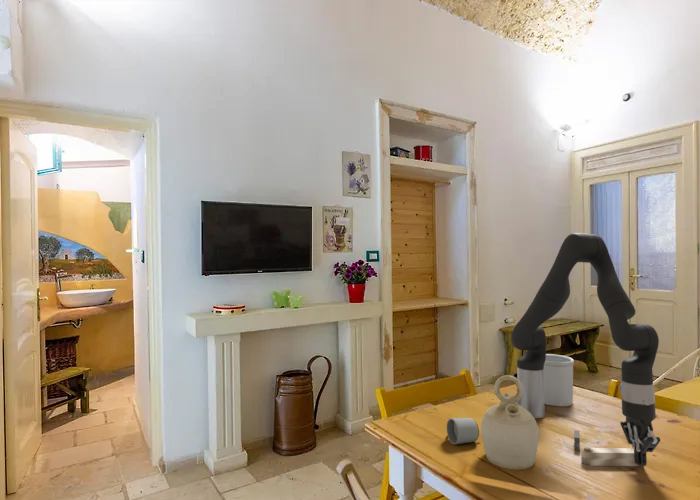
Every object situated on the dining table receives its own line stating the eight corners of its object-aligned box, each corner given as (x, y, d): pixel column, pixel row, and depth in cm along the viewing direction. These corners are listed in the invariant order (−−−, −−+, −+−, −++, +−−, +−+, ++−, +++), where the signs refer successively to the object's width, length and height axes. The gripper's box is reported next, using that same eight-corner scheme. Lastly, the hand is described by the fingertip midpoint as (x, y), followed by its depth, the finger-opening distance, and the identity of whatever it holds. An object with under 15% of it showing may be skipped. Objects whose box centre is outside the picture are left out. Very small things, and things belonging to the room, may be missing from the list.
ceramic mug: (481, 444, 136) (480, 419, 136) (458, 448, 134) (457, 423, 134) (463, 432, 146) (462, 409, 146) (441, 435, 144) (440, 412, 144)
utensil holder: (576, 398, 179) (575, 355, 179) (573, 409, 166) (572, 363, 166) (537, 393, 186) (536, 352, 187) (532, 403, 174) (531, 359, 174)
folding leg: (584, 465, 119) (584, 450, 119) (579, 460, 122) (579, 445, 122) (643, 466, 118) (643, 451, 118) (636, 461, 121) (636, 446, 121)
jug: (534, 482, 113) (532, 385, 113) (475, 468, 121) (473, 377, 122) (543, 459, 126) (541, 372, 126) (489, 447, 134) (487, 366, 135)
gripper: (609, 392, 123) (611, 454, 123) (640, 406, 110) (643, 476, 109) (635, 391, 123) (638, 454, 123) (670, 406, 110) (673, 476, 109)
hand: (640, 464), depth 116 cm, fingers closed
